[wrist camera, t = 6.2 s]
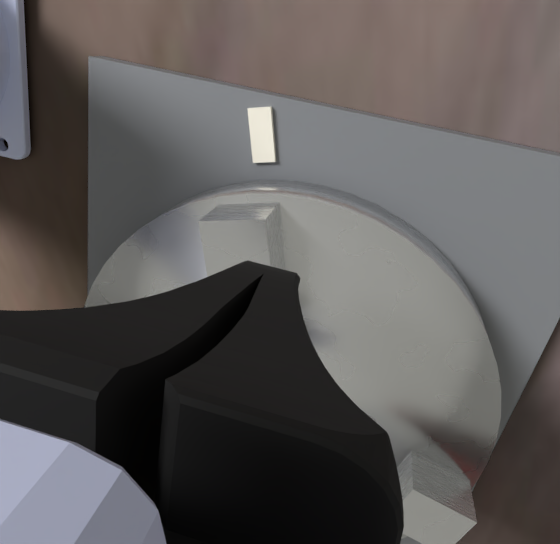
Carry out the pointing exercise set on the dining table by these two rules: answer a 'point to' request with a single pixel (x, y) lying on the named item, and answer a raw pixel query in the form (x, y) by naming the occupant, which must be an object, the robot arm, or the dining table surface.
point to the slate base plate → (335, 185)
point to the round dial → (350, 322)
